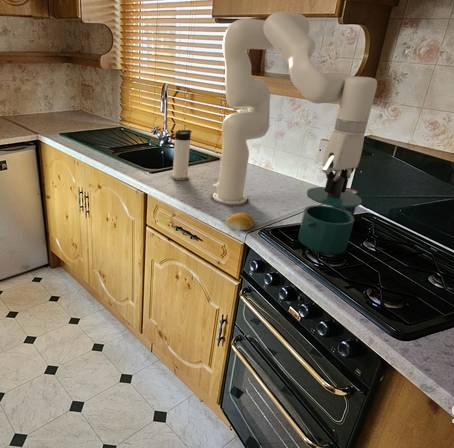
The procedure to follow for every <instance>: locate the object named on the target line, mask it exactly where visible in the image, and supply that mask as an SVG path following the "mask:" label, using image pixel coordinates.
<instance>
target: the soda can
mask: <svg viewBox="0 0 454 448" xmlns="http://www.w3.org/2000/svg"><path fill="white" fill-rule="evenodd" d="M346 191H348V192H351V193H353V194H355V195H357V196H359V195H358V190H356V189H354V188H351V187H346ZM331 207H334V206H331ZM334 208H338V209H341V210H343V211H344V210H347V211H349V212H352V216H353V217H354V215H355V212H356V209H357V207H351V208H343V207H334Z"/></svg>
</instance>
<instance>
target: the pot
mask: <svg viewBox="0 0 454 448" xmlns="http://www.w3.org/2000/svg"><path fill="white" fill-rule="evenodd" d="M354 224H355V217H354V215H353V216H352V212H349V211H347V210H344V211H343V210H341V209H338V208H334V207H332V206H329V205H311V206H310V205H309V206H307V207H305V208H304V209H303V214H302V218H301V221H300V227H299V232H298V241H299V242H300V243H301V245H303V246H305V247H306V248H308V249H311V250H313V251H317V252H321V253H327V254H329V255H331V256H332V255H333V256H334V255H340V254H344V253H345V252H346V250H347V248H348V245H349V241H350V237H351V235H352V230H353V227H354Z"/></svg>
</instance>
